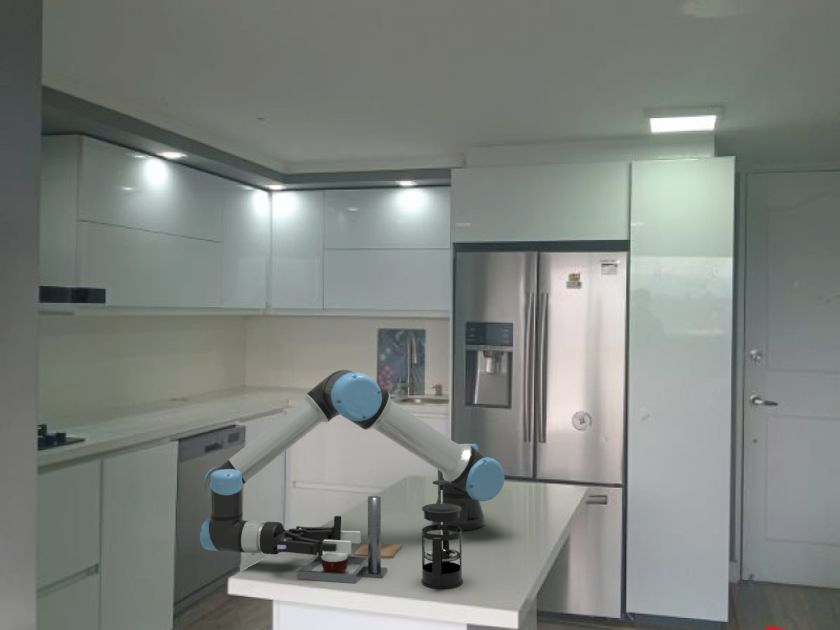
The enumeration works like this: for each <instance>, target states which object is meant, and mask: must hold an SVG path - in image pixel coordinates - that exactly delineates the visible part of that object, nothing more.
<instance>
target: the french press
mask: <svg viewBox="0 0 840 630" xmlns="http://www.w3.org/2000/svg"><path fill="white" fill-rule="evenodd" d="M432 484H433V485H436V486H438V485H440V490H441V503H437V504H436V503H430V504H425V505H424V506H422V507H421V510H422V512H423V518H424V519H425V520H426V521H430V522H432V521H434V522H441V524H436V525H432V524H431V525H429V524H428V525H426V526H424V527H423V528H421V552H422V553H421V557H422V558H421V561H422V562H421V570H422V571H421V572H422V577H421V582H420V583H421V584H422V586H424V587H426V588H430V589H435V590H449V589H455V588H458V587H460V586H462V584H463V582H464V580H463V578H462V576H463V573H462V572H463V569H462V565H463V564H462V563H463V562H462V559H463V557H462V555H463V552H462V551H463V549H462V548H463V547H462V546H463V545H462V543H463V542H462V538H463V536H462V535H463V534H462V531H463V530H462V529H461V528H460V527H458V526H454V525H448V524H443V522H450V521H455V520H458V519H459V518H460V511H461V507H460V506H458V505H454V504H446V503H443V499H442V490H444V485H448V484H451V482H450V481H446V480H438V479H436V480H434V481H432ZM431 531H432V532H434V531H440V534H434V533H429V532H431ZM450 532H455V533H451V534H450ZM425 539H427V540H430V541H432V547H431V548H432V549H429V550H426V551H425V549H426V548H425V541H426V540H425ZM458 539H459V551H457V550H455V549H452V548H451V549H450V541H454V540H458ZM425 559H426V560H427V561H431V562H428V563H426V562H425V561H426V560H425ZM457 560H459V563H456V562H454V561H457Z"/></svg>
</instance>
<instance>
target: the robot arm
mask: <svg viewBox="0 0 840 630" xmlns="http://www.w3.org/2000/svg"><path fill="white" fill-rule="evenodd" d="M340 415H341V416H342V417H344V418H345V419H346V420H348V421H350V422H352V423H353V424H355V425H357V426H358V427H359V428H361V429H363V430H364V431H367V430H371V429H373V430H375V431H377V432H379V433H380V434H381V435H383V436H385V437H386V438H387V439H390V440H391V441H392V442H394V443H395V444H397V445H399V446H400V447H402V448H404V449H405V450H407V451H408V452H410V453H411V454H413V455H414V456H415V457H417V458H419V459H420V460H422V461H424V462H426V463H427V464H429V465H430V466H432V467H433V468H435V469H436V470H437V480H446V481H450V482H451V484H448V485H444V490H442V499H443V503H446V504H454V505H458V506H460V507H461V511H460V518H459V519H458V520H455V521H450V522H443V524H448V525H454V526H458V527H460V528H461V529H462V531H470V530H476V529H479V528H482V527H483V526H484V525H485V515H484V511H483V508H482V504H481V503H480V502H487V501H490V500H493V499H494V498H495V497H497V496H498V495H499V494H500V492H501V491H502V489H503V486H504V485H505V471H504V468H503V466H502V465H501V464H500V462H498V461H497V460H496V459H495V458H493V457H489V456H487V455H485V454H483V452H481V451H480V450H479V447H478V444H476V443H457V442H455V441H454V440H452V439H450V438H449V437H447V435H444V434H443V433H441V432H440V431H439V430H437V429H435V427H433V426H431V425H429V424H428V423H426V422H424V421H423V420H421V419H420V418H419V417H417V416H415V415H414V414H413V413H411V412H409V411H408V410H406V409H405V408H403V407H402V406H400V405H399V404H397V403H396V402H394V401H392V399H391V394H390V391H388V390H386V389H385V388H384V387H383V386H381V385H379V384H378V383H377V382H376V381H375V380H374V379H373V378H372V377H371V376H369V375H368V374H365V373H362V372H358V371H357V372H355V371H352V370H348V369H342V370H337V371H335V372H332V373H331V374H329V375H327V377H325V378H324V379H322V380H321V381H320V382H319V383H318V384H317V385H315V386H314V387H313V388H312V389H311V390H310V391H308V392H306V394H305V395H304V400H303V401H301V402H300V403H299V404H297V405H296V406H295V407H294V408H293V409H291V410H290V411H288V412H287V413H286V414H285V415H284V416H282V417H281V418H280V419H278V420H277V421H276V422H275V423H274V424H272V425H270V427H268V428H267V429H265V430H264V431H263V432H262V433H261V434H260V435H258V436H256V438H254V439H253V440H251V441H250V442H249V443H248V444H247V445H245V446H244V447H243V448H242V449H240V450H239V451H238V452H236V453H235V454H234V455H232V456H231V457H230V458H228V459H227V460H226V461H224V462H223V463H222V464H221V465H220V466H219V465H218V466H215V467H212V468H211V469H210V470H209V471H207V473H206V475H205V478H204V488H205V491H206V493H207V494H208V497H209V499H210V518H208V519H206V520H205V521H204V522H203V523H202V525H201V527H200V530H201V531H200V533H199V540H200V545H201V547H202V548H203V549H205V550H206V551H213V552H214V551H215V552H220V553H222V552H223V553H224V552H226V553H247V554H249V553H250V554H251V555H252V556H254V555H256V554H265V555H278V554H280V553H292V554H299V555H300V554H302V555H309V556H310V555H311V556H315V555H317V553H318V556H322V555H323V551H324V552H329V553H347V554H348V555H350V554H352V544H359V545H360V544H361V542H362V539H361V538H362V535H361V533H362V531H359V530H356V531H355V530H341V540H333V538H334V525H332V526H331V527H329V526H328V527H326V526H322V527H321V526H317V527H316V526H299V525H298V526H295V528H289V529H287V530H286V529H285V528H284V524H283V523H281V522H280V521H264V520H244V519H243V487H244V485H245V484H246V483H247V482H248V481H249V480H251V479H252V478H253V477H255V476H256V475H257V474H258V473H260V472H261V471H262V470H263V469H265V468H266V467H268V466H269V465H270V464H271V463H272V462H274V461H275V460H276V459H277V458H278V457H280V456H281V455H283V453H285V452H286V451H287V450H289V449H290V448H291V447H292V446H293V445H295V444H296V443H298V442H299V441H300V440H301V439H303V438H304V437H305V436H306V435H307V434H309V433H311V431H313V430H314V429H315V428H317V426H319V425H320V424H321V423H329V422H330V421H331V420H332V419H334V418H336V417H337V416H340ZM435 502H436V503H435V504H437V503H441V490H440V485H437V499H436V501H435ZM436 524H441V522H434V521H431V525H436Z"/></svg>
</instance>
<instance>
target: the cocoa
mask: <svg viewBox="0 0 840 630" xmlns="http://www.w3.org/2000/svg"><path fill="white" fill-rule="evenodd" d="M333 519H334V520H333V526H334V538H333V540H341V531H342V515H335V516H334V518H333ZM348 555H349V554H347V553H329V552H324V551H323V555H322V556H321V560H322V562H321V566H322V569H323V572H336V573H345V572H346V570H347V568H348V565H349V564H348Z"/></svg>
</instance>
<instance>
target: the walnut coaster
mask: <svg viewBox="0 0 840 630" xmlns="http://www.w3.org/2000/svg"><path fill="white" fill-rule="evenodd" d="M402 547H403V544H395V543H381V559H390V558H393V557H395V556H396V555H397V554H398V552H399V551H400V550H401V549H400V548H402ZM399 549H400V550H399ZM353 555H354V556H368V542H364V543H363V544H362V545H360V547H359V548H358V549H357V550H356V551H355V552H354V554H353ZM393 559H394V558H393Z"/></svg>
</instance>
